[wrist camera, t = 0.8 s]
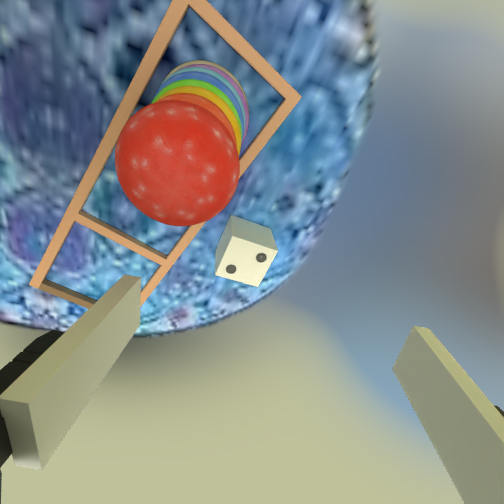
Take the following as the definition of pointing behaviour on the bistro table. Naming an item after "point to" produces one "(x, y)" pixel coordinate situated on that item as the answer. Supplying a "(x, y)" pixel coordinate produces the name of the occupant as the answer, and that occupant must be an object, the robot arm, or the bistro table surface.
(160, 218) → the stacking toy
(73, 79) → the bistro table surface
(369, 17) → the bistro table surface
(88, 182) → the ladder
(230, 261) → the die
